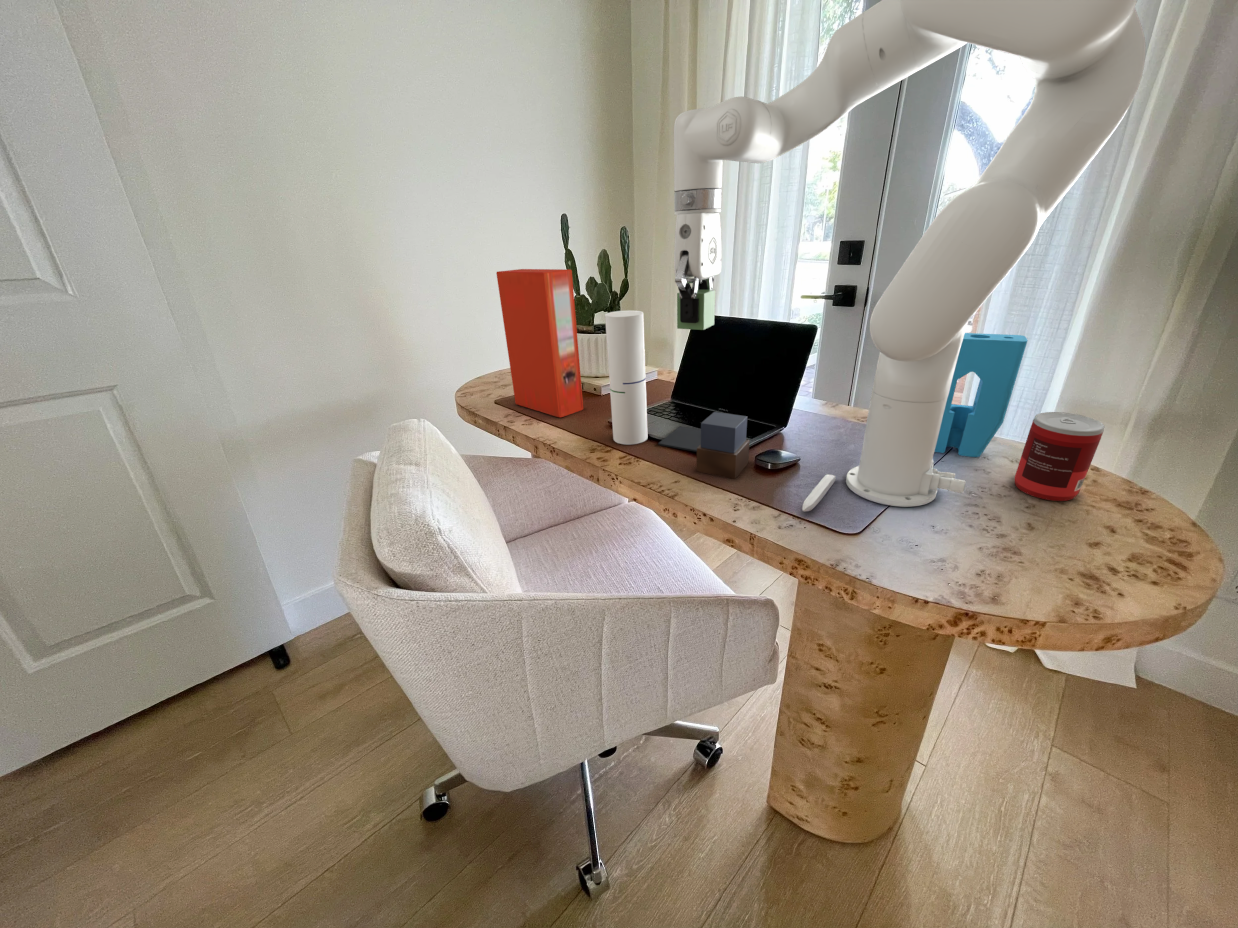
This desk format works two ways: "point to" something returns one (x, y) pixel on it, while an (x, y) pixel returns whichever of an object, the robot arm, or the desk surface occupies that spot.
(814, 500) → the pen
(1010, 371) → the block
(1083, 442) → the canned food
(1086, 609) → the desk surface
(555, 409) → the file binder
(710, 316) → the green block
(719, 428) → the mid block
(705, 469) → the base block
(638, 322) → the cylindrical container
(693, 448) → the coaster
